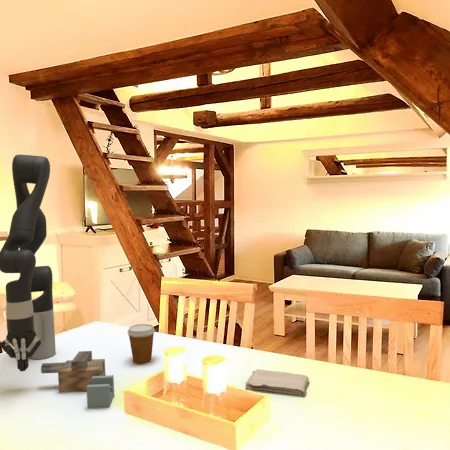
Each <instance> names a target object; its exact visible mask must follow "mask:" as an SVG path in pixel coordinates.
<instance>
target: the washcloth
mask: <svg viewBox="0 0 450 450" xmlns="http://www.w3.org/2000/svg"><path fill="white" fill-rule="evenodd" d="M309 379H310V378H309V376H307V375H305V374H299V373H291V372H286V371H277V370H276V371H275V370H274V371H273V370H266V369H260V368H259V369H255V370H253V371H252V373H251V375H250V377H248V379H247V380H246V382H245V383H244V384H245V389H247V390H249V389H250V390H249V391H252V390H253V392H259V393H265V394H273V395H281V396H283V395H285V396H291V397H303V396H304V395H305V394H306V388H307V387H308V384H309Z"/></svg>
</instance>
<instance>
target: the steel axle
mask: <svg viewBox="0 0 450 450" xmlns="http://www.w3.org/2000/svg"><path fill="white" fill-rule="evenodd" d="M98 366H101V371H102V369H103V361H88V362H87V367H98ZM60 368H71V362H66V361H64V362H47V363H46V362H44V363H43V362H42V364H41V367H40V373H41V374H42V375H43V374H58V371H59V370H60Z"/></svg>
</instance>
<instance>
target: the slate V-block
mask: <svg viewBox="0 0 450 450" xmlns="http://www.w3.org/2000/svg"><path fill="white" fill-rule="evenodd" d="M114 378H115V377H114V375H113V374H112V375H105V376H93V377H92V385H87V391H86V401H87V402H86V405H87V407H86V408H87V409H97V408H98V409H99V408H110V406H111V404H112V401H113V399H114V398H115V397H114V396H115V385H114V384H115V382H114V381H115V379H114Z"/></svg>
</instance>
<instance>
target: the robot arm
mask: <svg viewBox="0 0 450 450" xmlns="http://www.w3.org/2000/svg"><path fill="white" fill-rule="evenodd" d="M11 173H12V180H13V188H14V194H15V195H14V196H15V203H16V210H15V211H14V213H13V214H12V218H11V222H10V226H9V227H10V228H9V233H8V236H7V238H6V239H5V241H4V244H3V245H2V248H0V272H1V273H3V274H19V278H18V279H15V280H11V281H8V282H7V283H6V285H5V301H6V302H5V305H6V306H5V317H6V318H5V319H6V330H7V333H6V338H5V339H4V340H2V341H1V342H0V347H1V349H2V350H3V351H4V352H5V353H6V354H7V356H8V357H10V359H15V360H16V364H17V370H19V372H25V371H26V370H28V368H29V366H30V365H29V364H30V363H29V359H32V360H43V359H44V360H45V359H47V358H51V357H53V356H54V355H55V354H56V353H57V352H56V335H55V331H56V330H55V314H54V299H53V271H52V268H51V266H49V265H40V266H39V265H38V266H36V265H37V258H36V256H35V255H36V253H37V251H38V250H39V249H40V248H41V247H42V245H43V243H44V242H45V240H46V238H47V231H48V230H47V218H46V215H45V213H44V212H43V210H42V209H41V205H42V202H43V199H44V197H45V194H46V191H47V190H46V189H47V187H48V185H49V183H48V182H49V179H50V176H51V175H50V173H51V164H50V160H49V158H47V157H46V156H44V155H43V156H41V155H33V154H32V155H31V154H15V156H13V159H12V163H11ZM28 184H32V185H33V184H34V187H33V189H32V191H31V193H30V190H29V187H28ZM37 292H42V294H41V295H40V296H38V297H36V298H34V299H33V298H32V293H37Z"/></svg>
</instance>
